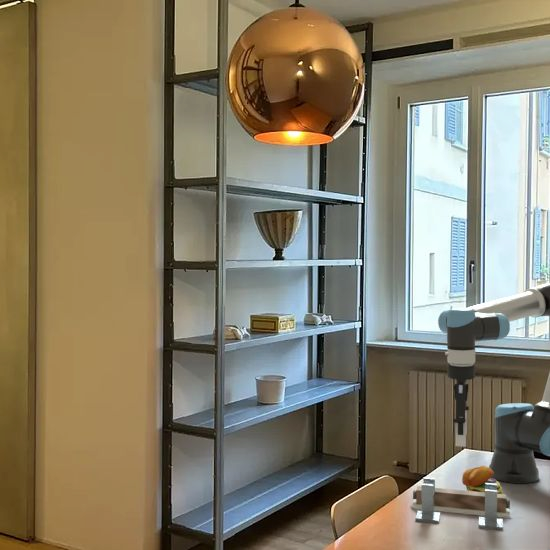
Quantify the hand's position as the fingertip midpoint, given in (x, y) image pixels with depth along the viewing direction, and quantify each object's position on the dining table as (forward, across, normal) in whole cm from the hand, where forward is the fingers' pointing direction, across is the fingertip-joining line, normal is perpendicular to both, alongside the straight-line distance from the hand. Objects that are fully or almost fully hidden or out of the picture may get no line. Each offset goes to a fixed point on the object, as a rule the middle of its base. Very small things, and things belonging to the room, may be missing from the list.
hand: (461, 439), depth 203 cm
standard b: (+19, +12, +8) cm, 24 cm away
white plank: (+19, +2, 0) cm, 19 cm away
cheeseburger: (+19, -10, +6) cm, 23 cm away
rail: (+18, +2, 0) cm, 18 cm away
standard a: (+19, +12, -8) cm, 24 cm away
